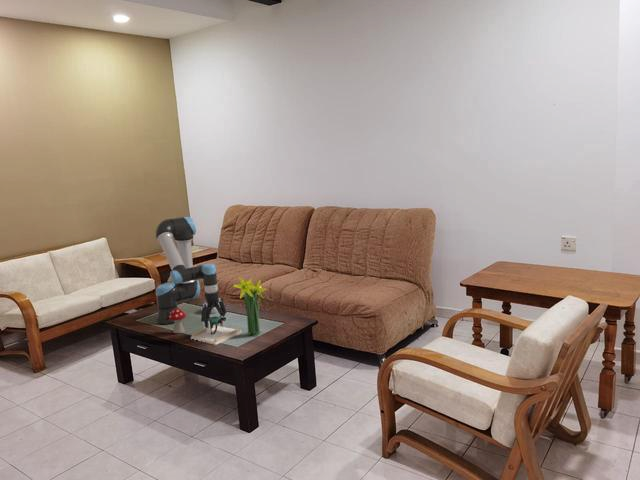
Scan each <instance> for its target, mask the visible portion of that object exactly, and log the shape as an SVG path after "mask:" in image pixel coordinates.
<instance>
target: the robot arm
mask: <svg viewBox="0 0 640 480" xmlns="http://www.w3.org/2000/svg"><path fill="white" fill-rule="evenodd" d="M196 234H197V227H196V224H195V222H194V219H193V218H192V217H190V216H182V217H181V216H180V217H176V218H175V217H174V218H167V219H163V220H162V221H161V222H160V223H159V224H158V225H157V227H156V230H155V239H156V242H157V243H158V244H160V246H161V248H162V251H163V253H164V255H165V259H166V260H167V262H168V265H169V267H170V269H171V271H170V273H169V277H170V281H169V282H164V283H161V284H159V285H157V287H156V288H155V296H156V303H157V313H156V314H157V315H156V323H157V324H161V325H162V324H163V325H164V324H165V325H166V324H174V322H175V321H174V320H170V319H169V314H170V312H171V311H172V310H173V309H176V308H178V303H179V302H180V303H181V302H184V301H189V300H193V299H197V298H198V297H199V296H200V293H201V285H200V281H199V280H202V282H203V291H204V298H205V301H206V303H205V302H204V303H202V304H201V307H202V308H201V309H202V310H201V317H200V321H201V322H202V323H204V322H205V323H204V327H205V328H206V332H207V333H211V330H210V322H209V321H208V320H209V317H211V314H212V313H211V310H212V308H214V307H215V308H216V309H217V311H218V312H217V313H219V315H218V317H222V318H223V317H225V316H226V314H227V309H226V307H225V304H224V298H223V297H219V296H220V295H219V287H218V278H217V268H216V265H215V264H214V263H205V264H202V263H201V264H198V265H196V266H194V265H193V264H194V263H193V249H192V240H193V239H194V236H195V235H196ZM175 242H176V243H175ZM218 302H219V304H218ZM178 309H179V308H178ZM219 326H220V327H225V321H222V324H220V323H219Z"/></svg>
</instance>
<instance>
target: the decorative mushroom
mask: <svg viewBox="0 0 640 480" xmlns="http://www.w3.org/2000/svg"><path fill="white" fill-rule="evenodd" d="M185 318H187V316H186V313H185V312H184V311H183V310H182V308H176V309H173V310H172V311H171V312H170V314H169V319H170V320H174V321H175V322H173V326H174V327H173V330H172V332H173V334H174V333H183V334H185V331H186V330H185V328H184V326H183V322H182V320H184V319H185Z"/></svg>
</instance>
